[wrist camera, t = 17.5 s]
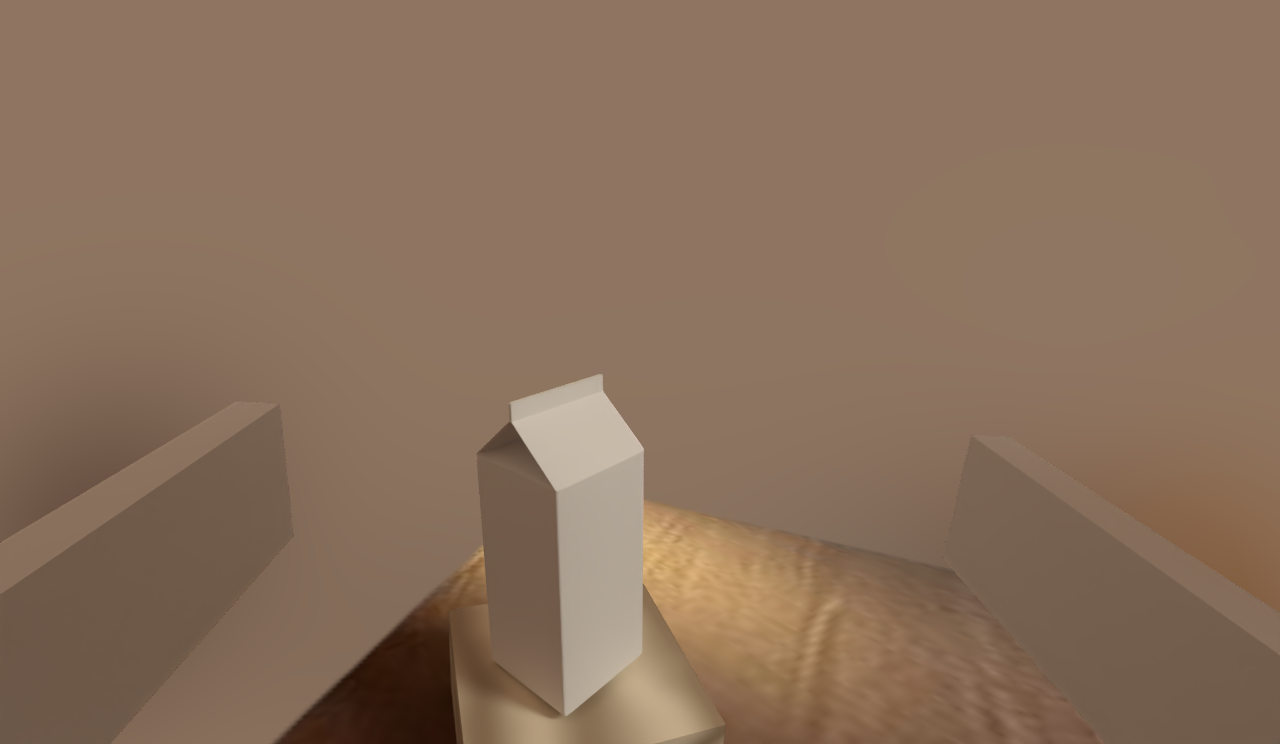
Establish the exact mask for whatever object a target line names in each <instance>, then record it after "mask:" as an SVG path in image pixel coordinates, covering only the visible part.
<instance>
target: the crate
mask: <svg viewBox="0 0 1280 744" xmlns="http://www.w3.org/2000/svg"><path fill="white" fill-rule="evenodd" d="M449 639H450V675H451V691H452V701H453V711H454V721H455V731H456V741H457V744H723V741H724V734H725V726H726V725H725V723H724V721H723V719H722V718H721V716H720V714H719V713H718V711H717V709H716V707H715V706H714V704H713V702H712V701H711V699H710V697H709V695H708V694H707V692H706V690H705V689H704V687H703V685H702V683H701V682H700V680H699V678H698V676H697V675H696V673H695V671H694V670H693V668H692V666H691V664H690V663H689V661H688V659H687V658H686V656H685V654H684V652H683V651H682V649H681V647H680V646H679V644H678V642H677V640H676V639H675V637H674V635H673V634H672V632H671V630H670V628H669V627H668V625H667V623H666V622H665V620H664V618H663V616H662V615H661V613H660V611H659V610H658V608H657V606H656V604H655V603H654V601H653V599H652V598H651V596H650V594H649V592H648V591H647V589H646V587H645V586H644V584H643V608H642V653H641V655H640V656H639V657H637V658H636V659H635V660H634V661H633V662H631V663H630V664H629V665H628V666H627V667H626V668H624V669H623V670H622V671H621V672H620V673H618V674H617V675H616V676H615V677H614V678H612V679H611V680H610V681H609V682H608V683H606V684H605V685H604V686H603V687H602V688H600V689H599V690H598V691H597V692H596V693H594V694H593V695H592V696H591V697H590V698H588V699H587V700H586V701H585V702H584V703H582V704H581V705H580V706H579V707H578V708H576V709H575V710H574V711H573V712H571V713H570V714H569V715H567V716H563V715H562V714H561V713H560V712H558V711H557V710H556V709H554V708H553V707H552V706H551V705H549V704H548V703H547V702H545V701H544V700H543V699H542V698H540V697H539V696H538V695H537V694H535V693H534V692H533V691H531V690H530V689H529V688H528V687H526V686H525V685H524V684H522V683H521V682H520V681H519V680H517V679H516V678H515V677H514V676H512V675H511V674H510V673H508V672H507V671H506V670H505V669H503V668H502V667H501V666H500V665H498V664H497V663H496V662H495V661H493V660H492V650H491V637H490V624H489V611H488V604H483V605H477V606H471V607H465V608H459V609H453V610H449Z"/></svg>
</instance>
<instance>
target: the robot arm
mask: <svg viewBox="0 0 1280 744" xmlns="http://www.w3.org/2000/svg"><path fill="white" fill-rule="evenodd" d="M293 536H294V533H293V524H292V515H291V505H290V497H289V487H288V478H287V468H286V459H285V449H284V440H283V430H282V421H281V412H280V404H276V403H254V402H253V403H252V402H235V403H233V404H232V405H230V406H228V407H226V408H225V409H223V410H221V411H220V412H218V413H216V414H215V415H213V416H211V417H210V418H208V419H207V420H205V421H203V422H202V423H200V424H198V425H197V426H195V427H193V428H191V429H190V430H188V431H187V432H185V433H183V434H181V435H180V436H178V437H176V438H175V439H173V440H171V441H170V442H168V443H166V444H165V445H163V446H161V447H160V448H158V449H156V450H155V451H153V452H151V453H150V454H148V455H146V456H145V457H143V458H141V459H140V460H138V461H136V462H135V463H133V464H131V465H130V466H128V467H126V468H124V469H123V470H121V471H119V472H118V473H116V474H115V475H113V476H111V477H109V478H108V479H106V480H104V481H103V482H101V483H99V484H98V485H96V486H95V487H93V488H91V489H89V490H88V491H86V492H84V493H83V494H81V495H79V496H78V497H76V498H74V499H73V500H71V501H69V502H68V503H66V504H64V505H63V506H61V507H59V508H58V509H56V510H54V511H53V512H51V513H49V514H48V515H46V516H44V517H43V518H41V519H39V520H38V521H36V522H34V523H33V524H31V525H29V526H28V527H26V528H24V529H22V530H21V531H19V532H17V533H16V534H14V535H12V536H11V537H9V538H7V539H6V540H4V541H3V542H0V744H110V743H111V742H112V741H113V740H114V739H115V738H116V737H117V735H118V734H119V733H120V732H121V731H122V730H123V729H124V728H125V726H126V725H127V724H128V723H129V722H130V721H131V720H132V719H133V717H134V716H135V715H136V714H137V713H138V712H139V711H140V710H141V708H142V707H143V706H144V705H145V704H146V703H147V702H148V700H149V699H150V698H151V697H152V696H153V695H154V693H156V691H157V690H158V689H159V688H160V687H161V686H162V685H163V683H164V682H165V681H166V680H167V679H168V678H169V677H170V675H171V674H172V673H173V672H174V671H175V670H176V669H177V668H178V666H179V665H180V664H181V663H182V662H183V661H184V660H185V659H186V657H187V656H188V655H189V654H190V653H191V652H192V651H193V650H194V648H195V647H196V646H197V645H198V644H199V643H200V641H201V640H202V639H203V638H204V637H205V636H206V635H207V634H208V632H209V631H210V630H211V629H212V628H213V627H214V626H215V625H216V624H217V622H218V621H219V620H220V619H221V618H222V617H223V616H224V614H225V613H226V612H227V611H228V610H229V609H230V608H231V607H232V605H233V604H234V603H235V602H236V601H237V600H238V599H239V597H240V596H241V595H242V594H243V593H244V592H245V591H246V590H247V588H248V587H249V586H250V585H251V584H252V583H253V582H254V581H255V579H256V578H257V577H258V576H259V575H260V574H261V572H262V571H263V570H264V569H265V568H266V567H267V566H268V565H269V563H270V562H271V561H272V560H273V559H274V558H275V556H276V555H277V554H278V553H279V552H280V551H281V550H282V549H283V548H284V547H285V545H286V544H287V543H288V542H289V541H290V540H291V538H293ZM942 558H943V559H944V560H945V561H946V562H947V564H948V565H949V566H950V567H951V568H952V569H953V570H954V572H955V573H956V574H957V575H958V576H959V577H960V578H961V580H962V581H963V582H964V583H965V584H966V585H967V586H968V588H969V589H970V590H971V591H972V592H973V593H974V594H975V596H976V597H977V598H978V599H979V600H980V601H981V602H982V604H983V605H984V606H985V607H986V608H987V609H988V610H989V612H990V613H991V614H992V615H993V616H994V617H995V618H996V620H997V621H998V622H999V623H1000V624H1001V625H1002V626H1003V628H1004V629H1005V630H1006V631H1007V632H1008V633H1009V634H1010V636H1011V637H1012V638H1013V639H1014V640H1015V641H1016V642H1017V644H1018V645H1019V646H1020V647H1021V648H1022V649H1023V650H1024V652H1025V653H1026V654H1027V655H1028V656H1029V657H1030V658H1031V660H1032V661H1033V662H1034V663H1035V664H1036V665H1037V666H1038V668H1039V669H1040V670H1041V671H1042V672H1043V673H1044V674H1045V676H1046V677H1047V678H1048V679H1049V680H1050V681H1051V682H1052V684H1053V685H1054V686H1055V687H1056V688H1057V689H1058V690H1059V692H1060V693H1061V694H1062V695H1063V696H1064V697H1065V698H1066V700H1067V701H1068V702H1069V703H1070V704H1071V705H1072V706H1073V708H1074V709H1075V710H1076V711H1077V712H1078V713H1079V714H1080V716H1081V717H1082V718H1083V719H1084V720H1085V721H1086V722H1087V724H1088V725H1089V726H1090V727H1091V728H1092V729H1093V730H1094V732H1095V733H1096V734H1097V735H1098V736H1099V737H1100V738H1101V740H1102V741H1103V742H1104V743H1105V744H1280V613H1279V612H1277V611H1276V610H1274V609H1273V608H1271V607H1270V606H1268V605H1267V604H1265V603H1263V602H1262V601H1260V600H1259V599H1257V598H1256V597H1254V596H1253V595H1251V594H1250V593H1248V592H1247V591H1245V590H1243V589H1242V588H1240V587H1239V586H1237V585H1236V584H1234V583H1233V582H1231V581H1230V580H1228V579H1226V578H1225V577H1223V576H1222V575H1220V574H1219V573H1217V572H1216V571H1214V570H1213V569H1211V568H1210V567H1208V566H1206V565H1205V564H1203V563H1202V562H1200V561H1199V560H1197V559H1196V558H1194V557H1193V556H1191V555H1190V554H1188V553H1186V552H1185V551H1183V550H1182V549H1180V548H1179V547H1177V546H1176V545H1174V544H1173V543H1171V542H1170V541H1168V540H1166V539H1165V538H1163V537H1162V536H1160V535H1159V534H1157V533H1156V532H1154V531H1153V530H1151V529H1150V528H1148V527H1146V526H1145V525H1143V524H1142V523H1140V522H1139V521H1137V520H1136V519H1134V518H1132V517H1131V516H1130V515H1128V514H1126V513H1125V512H1123V511H1122V510H1120V509H1118V508H1117V507H1116V506H1114V505H1113V504H1111V503H1110V502H1108V501H1106V500H1105V499H1103V498H1102V497H1100V496H1098V495H1097V494H1096V493H1094V492H1092V491H1091V490H1090V489H1088V488H1086V487H1085V486H1083V485H1082V484H1080V483H1079V482H1077V481H1075V480H1074V479H1072V478H1071V477H1069V476H1068V475H1066V474H1065V473H1063V472H1062V471H1060V470H1059V469H1057V468H1056V467H1054V466H1052V465H1051V464H1049V463H1048V462H1046V461H1045V460H1043V459H1041V458H1040V457H1039V456H1037V455H1036V454H1034V453H1032V452H1031V451H1029V450H1028V449H1026V448H1025V447H1023V446H1022V445H1020V444H1019V443H1017V442H1016V441H1014V440H1013V439H1011V438H1009V437H998V436H976V435H971V438H970V442H969V446H968V451H967V455H966V459H965V463H964V467H963V472H962V476H961V480H960V484H959V489H958V493H957V497H956V501H955V506H954V510H953V514H952V518H951V522H950V526H949V530H948V535H947V540H946V543H945V547H944V551H943V556H942Z"/></svg>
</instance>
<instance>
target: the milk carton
mask: <svg viewBox="0 0 1280 744" xmlns="http://www.w3.org/2000/svg"><path fill="white" fill-rule="evenodd" d="M509 417H510V422H509V423H508V424H507V425H505V426H504V427H503V428H502V429H501V430H500V431H499V432H498V433H497V434H496V435H495V436H494V437H493V438H492V439H491V440H490V441H489V442H488V443H487V444H486V445H485V446H484V447H483V448H482V449H481V450H480V451H479V452H478V453H477V467H478V480H479V494H480V507H481V519H482V532H483V546H484V559H485V572H486V585H487V598H488V611H489V624H490V637H491V650H492V660H493V661H495V662H496V663H497V664H498V665H500V666H501V667H502V668H503V669H505V670H506V671H507V672H508V673H510V674H511V675H512V676H514V677H515V678H516V679H517V680H519V681H520V682H521V683H522V684H524V685H525V686H526V687H528V688H529V689H530V690H531V691H533V692H534V693H535V694H537V695H538V696H539V697H540V698H542V699H543V700H544V701H545V702H547V703H548V704H549V705H551V706H552V707H553V708H554V709H556V710H557V711H558V712H560V713H561V714H562V715H563V716H567V715H569V714H570V713H571V712H573V711H574V710H575V709H576V708H578V707H579V706H580V705H581V704H582V703H584V702H585V701H586V700H587V699H588V698H590V697H591V696H592V695H593V694H594V693H596V692H597V691H598V690H599V689H600V688H602V687H603V686H604V685H605V684H606V683H608V682H609V681H610V680H611V679H612V678H614V677H615V676H616V675H617V674H618V673H620V672H621V671H622V670H623V669H624V668H626V667H627V666H628V665H629V664H630V663H631V662H633V661H634V660H635V659H636V658H637V657H639V656H640V655H641V653H642V608H643V472H644V471H643V469H644V465H643V464H644V462H643V461H644V448H643V447H642V445H641V444H640V443H639V441H638V440H637V439H636V437H635V436H634V434H633V433H632V431H631V430H630V429H629V427H628V426H627V424H626V423H625V421H624V420H623V419H622V417H621V416H620V414H619V413H618V412H617V410H616V409H615V408H614V406H613V405H612V403H611V402H610V400H609V399H608V398H607V396H606V395H605V393H604V392H603V375H601V374H598V375H595V376H592V377H589V378H586V379H583V380H579V381H577V382H573V383H570V384H567V385H563V386H560V387H557V388H554V389H551V390H548V391H545V392H541V393H538V394H535V395H532V396H528V397H526V398H522V399H519V400H516V401H513V402H510V403H509Z"/></svg>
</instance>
